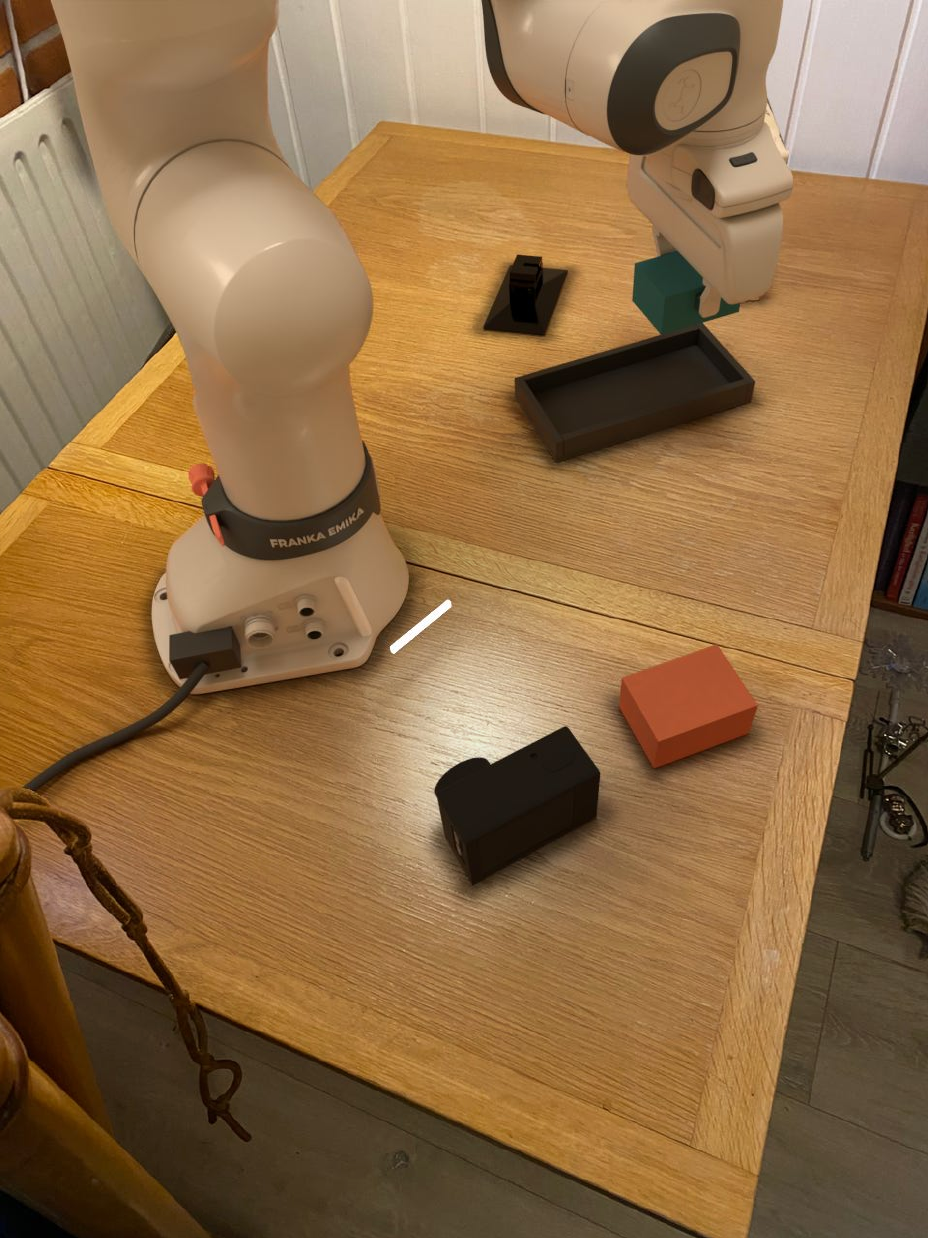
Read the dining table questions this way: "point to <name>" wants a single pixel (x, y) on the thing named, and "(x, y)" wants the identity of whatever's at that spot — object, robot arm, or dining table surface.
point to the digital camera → (516, 802)
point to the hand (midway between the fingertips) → (686, 291)
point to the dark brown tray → (632, 391)
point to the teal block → (671, 293)
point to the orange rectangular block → (686, 705)
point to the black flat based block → (526, 298)
